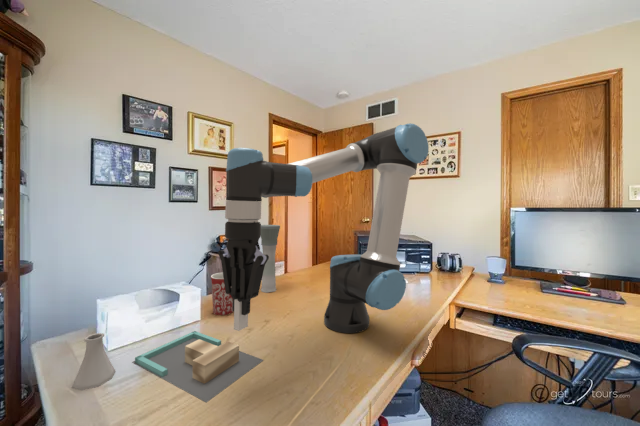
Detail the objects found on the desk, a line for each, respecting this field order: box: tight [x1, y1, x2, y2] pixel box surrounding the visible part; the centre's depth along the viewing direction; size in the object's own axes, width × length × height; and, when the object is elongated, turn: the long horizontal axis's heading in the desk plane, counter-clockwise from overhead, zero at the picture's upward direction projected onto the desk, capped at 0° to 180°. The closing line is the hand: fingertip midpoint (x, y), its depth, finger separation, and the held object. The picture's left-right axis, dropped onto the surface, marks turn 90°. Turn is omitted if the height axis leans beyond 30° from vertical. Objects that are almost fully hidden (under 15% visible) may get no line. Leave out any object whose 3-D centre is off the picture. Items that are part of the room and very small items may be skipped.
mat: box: [131, 330, 264, 403], centre depth 67 cm, size 27×17×2 cm, turn 61°
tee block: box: [185, 339, 240, 384], centre depth 65 cm, size 11×10×4 cm
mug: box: [210, 271, 234, 316], centre depth 101 cm, size 13×9×14 cm
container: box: [260, 224, 281, 293], centre depth 125 cm, size 10×10×30 cm
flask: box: [71, 332, 117, 391], centre depth 59 cm, size 7×7×10 cm
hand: (240, 327), depth 60 cm, fingers closed
